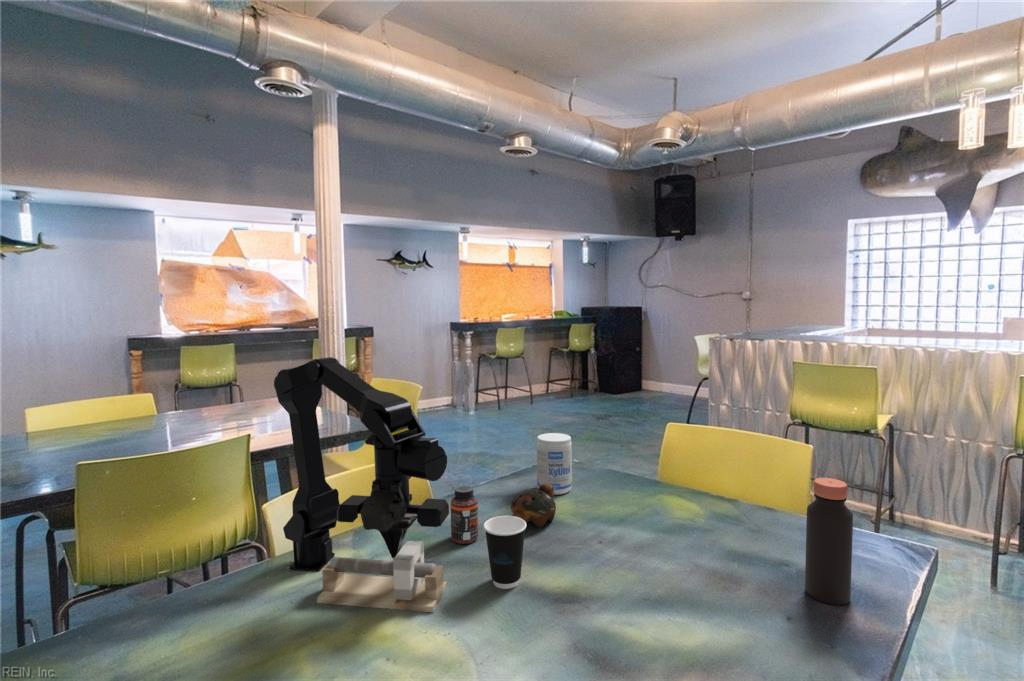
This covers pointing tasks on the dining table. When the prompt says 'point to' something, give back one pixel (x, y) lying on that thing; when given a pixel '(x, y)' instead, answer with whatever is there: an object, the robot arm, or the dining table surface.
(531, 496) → the ocarina
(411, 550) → the collar
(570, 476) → the supplement tub
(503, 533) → the dixie cup
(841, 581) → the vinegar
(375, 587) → the pipe rig
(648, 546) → the dining table surface
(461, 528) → the supplement bottle
